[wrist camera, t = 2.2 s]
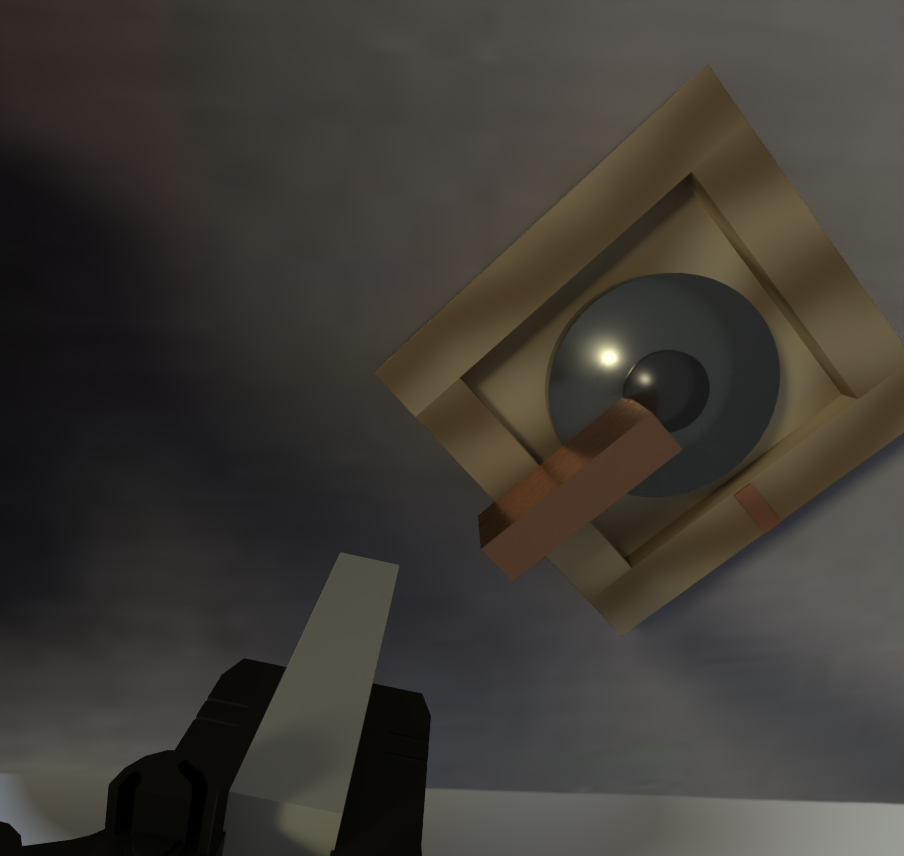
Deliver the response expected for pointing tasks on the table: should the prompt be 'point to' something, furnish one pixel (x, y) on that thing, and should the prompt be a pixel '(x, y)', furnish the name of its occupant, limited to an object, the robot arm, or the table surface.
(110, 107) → the table surface
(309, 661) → the robot arm
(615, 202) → the panel
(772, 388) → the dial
